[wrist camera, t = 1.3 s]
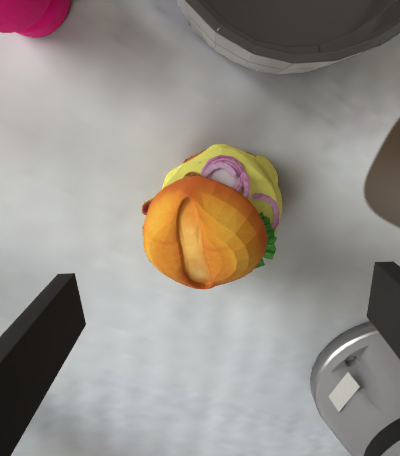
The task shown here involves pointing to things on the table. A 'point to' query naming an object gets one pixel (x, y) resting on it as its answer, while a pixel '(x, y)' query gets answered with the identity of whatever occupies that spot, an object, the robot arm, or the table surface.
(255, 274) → the table surface
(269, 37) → the bowl
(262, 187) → the cheeseburger
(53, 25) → the pepper mill
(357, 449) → the robot arm
